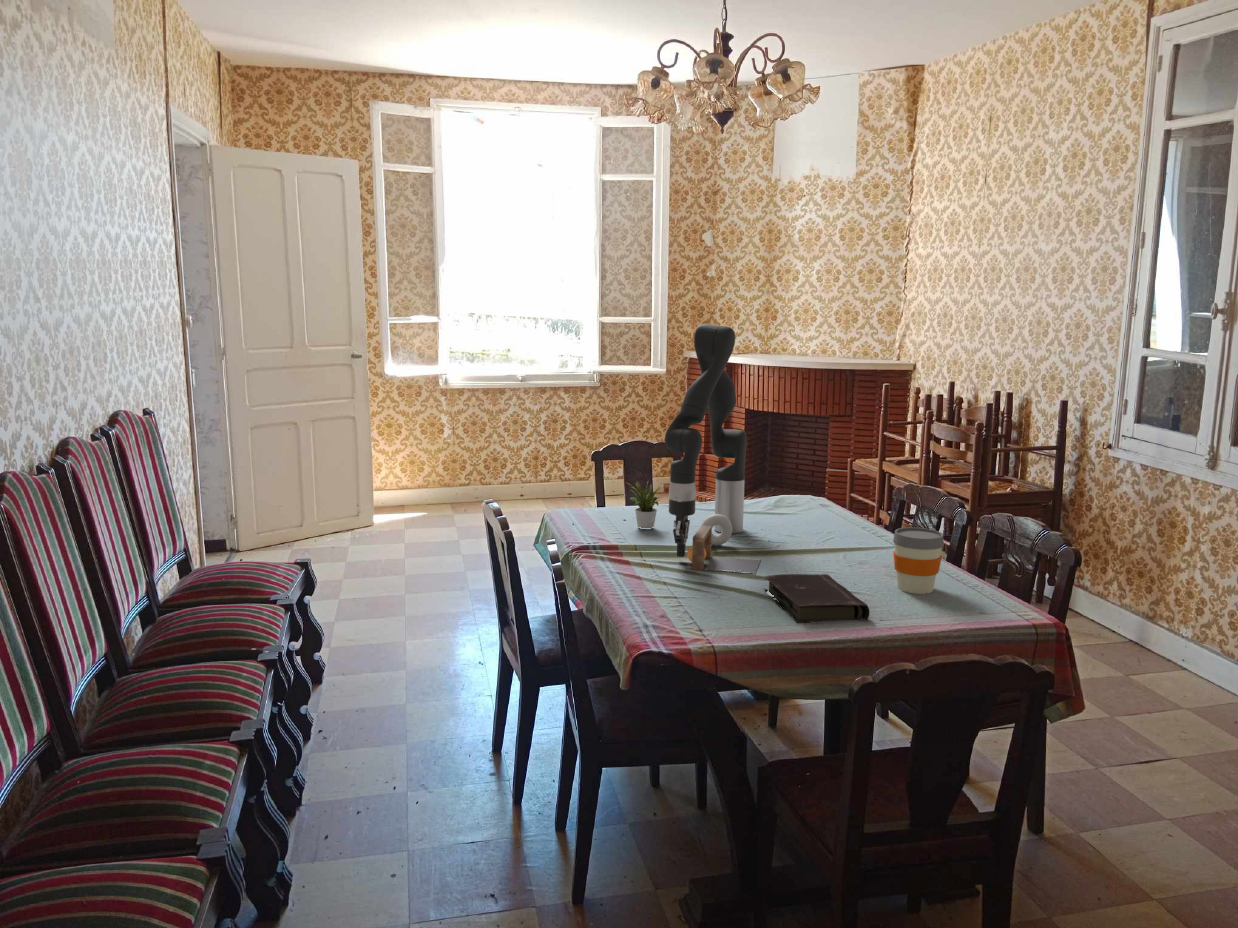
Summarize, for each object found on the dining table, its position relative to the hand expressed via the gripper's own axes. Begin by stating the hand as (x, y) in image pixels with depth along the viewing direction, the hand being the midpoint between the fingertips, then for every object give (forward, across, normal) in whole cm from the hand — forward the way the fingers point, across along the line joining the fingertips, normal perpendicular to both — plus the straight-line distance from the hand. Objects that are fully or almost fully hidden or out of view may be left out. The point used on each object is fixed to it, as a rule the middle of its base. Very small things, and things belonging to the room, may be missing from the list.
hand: (681, 556), depth 268 cm
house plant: (+2, -35, -20) cm, 40 cm away
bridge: (+2, 0, +6) cm, 6 cm away
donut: (+2, -20, +7) cm, 21 cm away
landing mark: (+2, 0, +15) cm, 15 cm away
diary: (+2, +29, +39) cm, 49 cm away
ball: (-1, +1, +5) cm, 5 cm away
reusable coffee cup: (+2, +8, +64) cm, 65 cm away
